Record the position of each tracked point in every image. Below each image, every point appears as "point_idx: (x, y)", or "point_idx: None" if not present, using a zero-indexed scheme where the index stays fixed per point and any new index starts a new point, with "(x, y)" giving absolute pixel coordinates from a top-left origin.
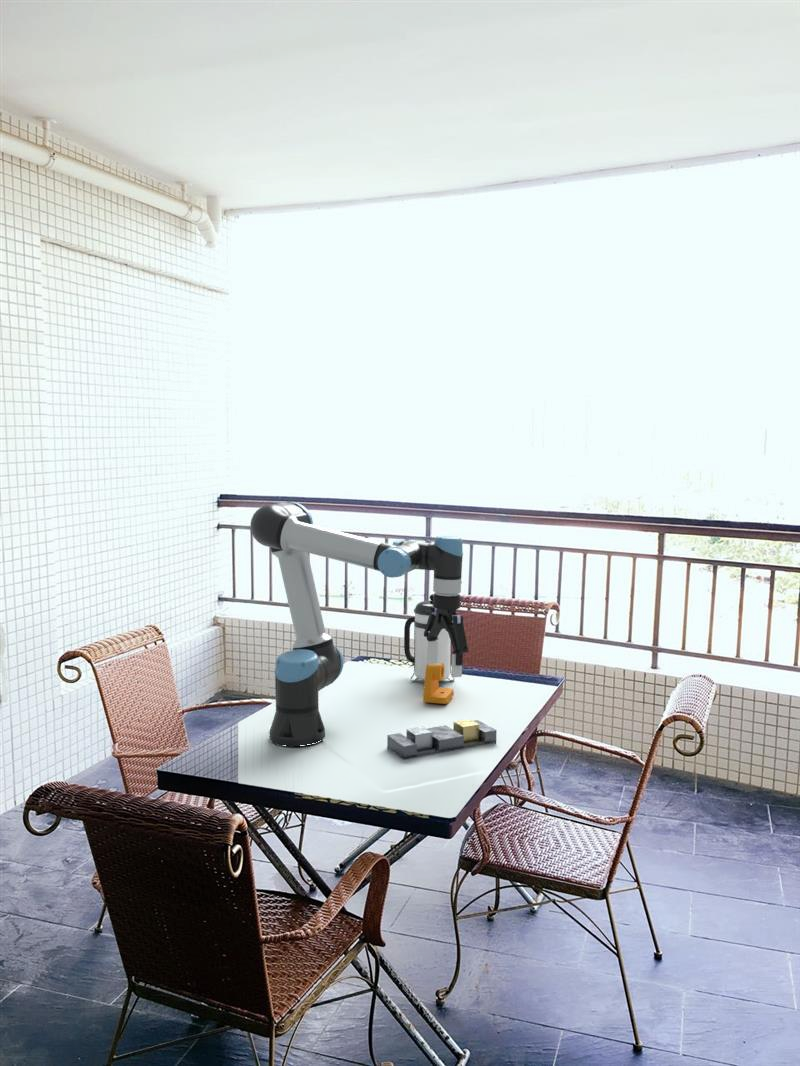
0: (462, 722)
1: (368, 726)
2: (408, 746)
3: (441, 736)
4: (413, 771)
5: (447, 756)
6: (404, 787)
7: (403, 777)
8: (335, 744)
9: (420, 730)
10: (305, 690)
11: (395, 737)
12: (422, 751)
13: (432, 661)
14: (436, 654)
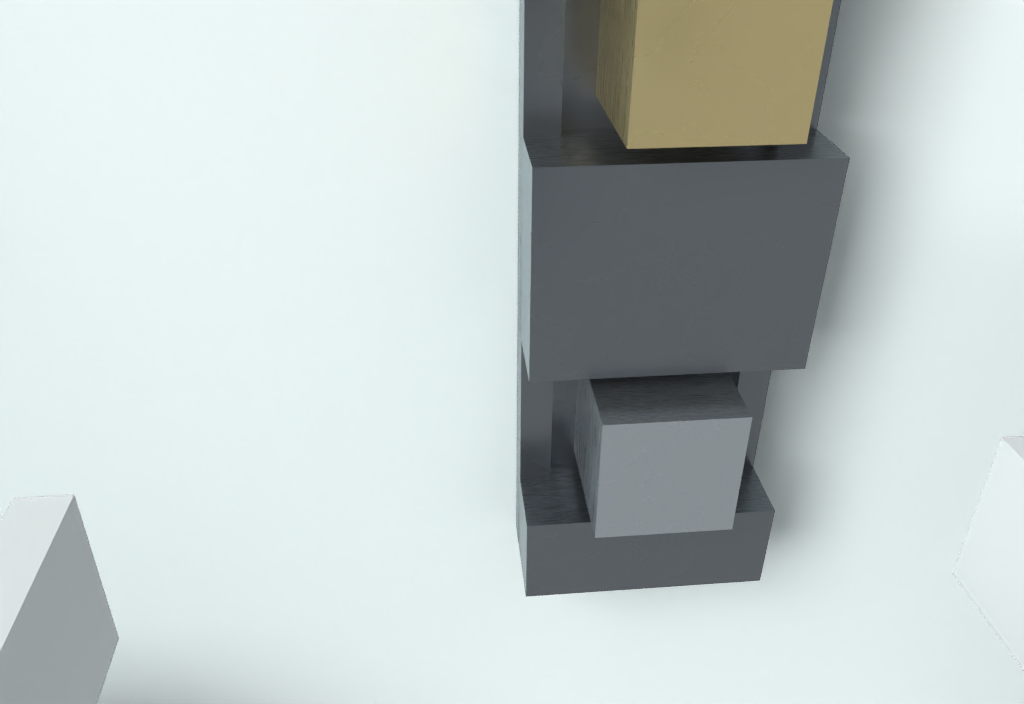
0: (697, 81)
1: (26, 488)
2: (762, 552)
3: (749, 320)
4: (873, 516)
5: None
6: None
7: (901, 575)
8: (310, 698)
9: (672, 472)
10: None
11: (591, 572)
12: None
13: (81, 619)
14: (2, 678)
